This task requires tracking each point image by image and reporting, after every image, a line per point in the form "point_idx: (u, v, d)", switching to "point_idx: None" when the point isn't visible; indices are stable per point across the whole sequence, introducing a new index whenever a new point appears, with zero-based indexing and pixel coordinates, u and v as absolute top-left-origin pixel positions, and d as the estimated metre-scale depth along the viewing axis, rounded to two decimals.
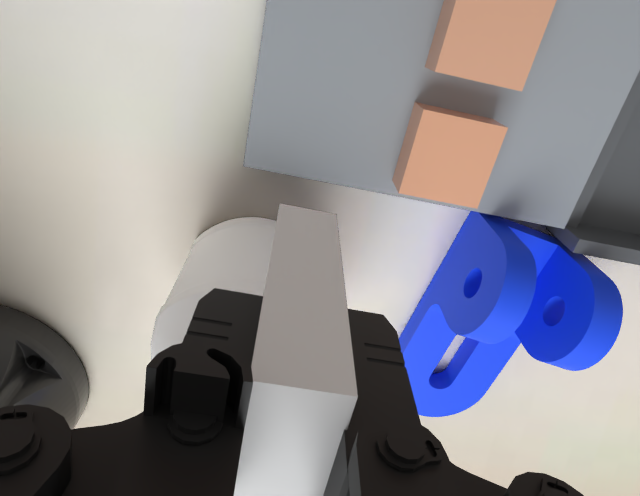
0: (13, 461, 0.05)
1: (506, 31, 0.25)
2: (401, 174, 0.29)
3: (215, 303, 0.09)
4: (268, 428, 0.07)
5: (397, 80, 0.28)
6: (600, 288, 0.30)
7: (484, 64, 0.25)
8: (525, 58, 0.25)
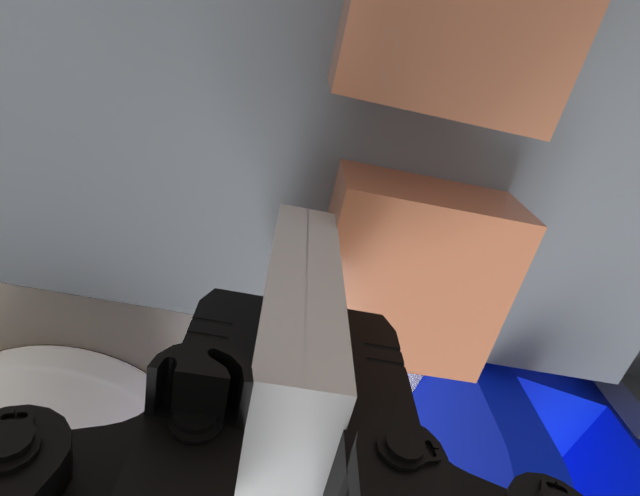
0: (14, 461, 0.05)
1: None
2: None
3: (215, 304, 0.09)
4: (269, 428, 0.07)
5: (268, 107, 0.13)
6: None
7: (455, 75, 0.10)
8: (561, 61, 0.10)
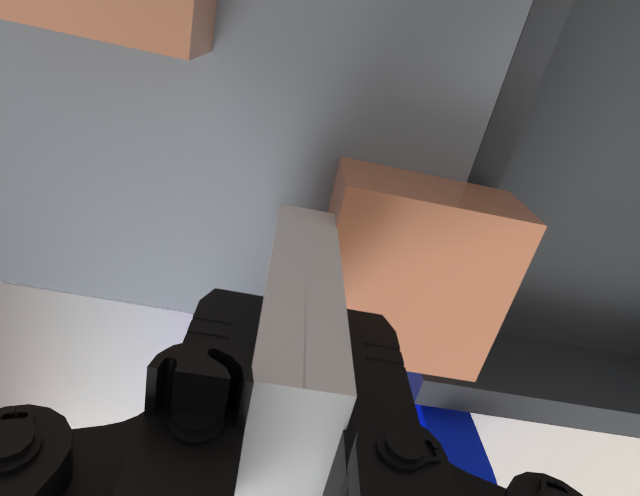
0: (14, 461, 0.05)
1: None
2: None
3: (215, 304, 0.09)
4: (268, 427, 0.07)
5: None
6: None
7: None
8: None
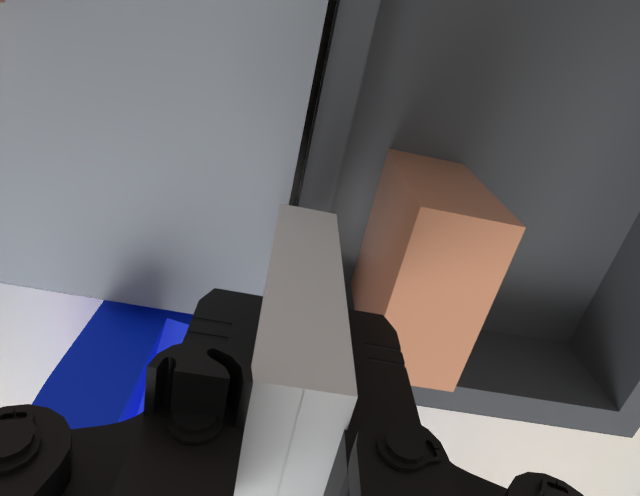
0: (13, 461, 0.05)
1: None
2: (442, 360, 0.12)
3: (214, 304, 0.09)
4: (268, 428, 0.07)
5: None
6: None
7: None
8: None
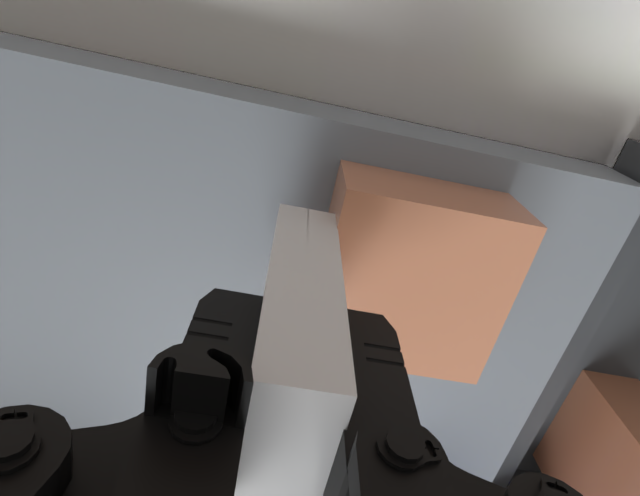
0: (14, 461, 0.05)
1: (439, 296, 0.12)
2: None
3: (215, 304, 0.09)
4: (268, 428, 0.07)
5: (153, 309, 0.15)
6: None
7: (400, 347, 0.13)
8: (480, 337, 0.13)
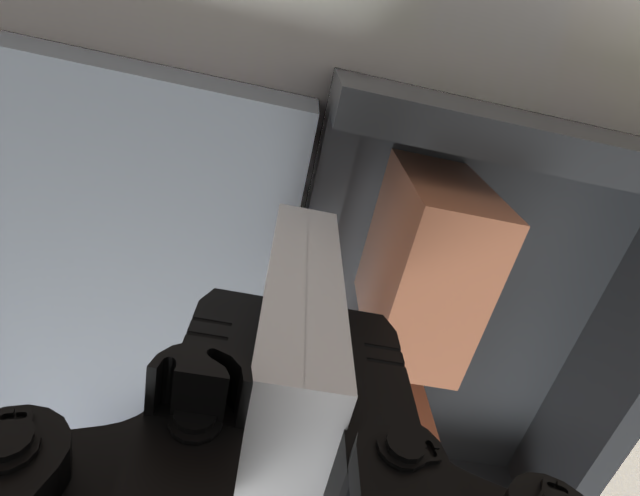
0: (13, 461, 0.05)
1: None
2: None
3: (214, 304, 0.09)
4: (268, 427, 0.07)
5: None
6: None
7: None
8: None
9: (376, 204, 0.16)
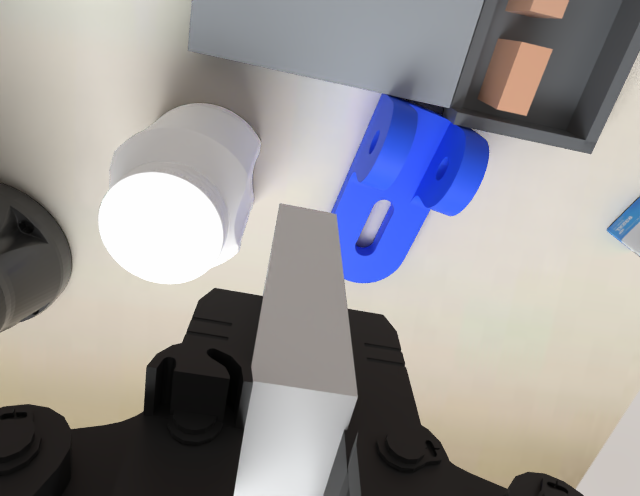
0: (13, 461, 0.05)
1: None
2: (523, 101, 0.37)
3: (214, 304, 0.09)
4: (268, 428, 0.07)
5: None
6: (472, 140, 0.37)
7: None
8: None
9: None
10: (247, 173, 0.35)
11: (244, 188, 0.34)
